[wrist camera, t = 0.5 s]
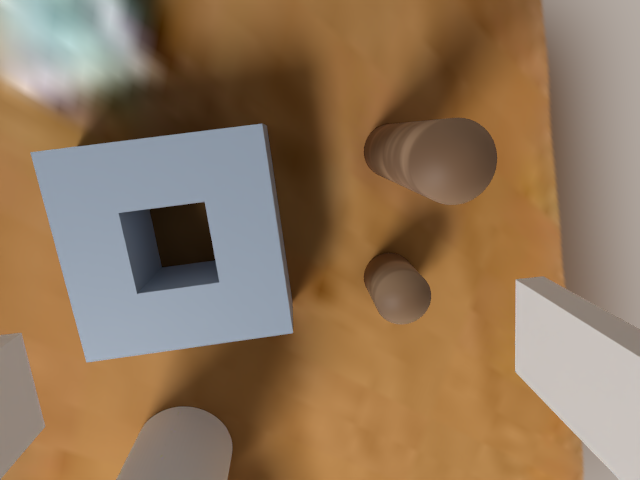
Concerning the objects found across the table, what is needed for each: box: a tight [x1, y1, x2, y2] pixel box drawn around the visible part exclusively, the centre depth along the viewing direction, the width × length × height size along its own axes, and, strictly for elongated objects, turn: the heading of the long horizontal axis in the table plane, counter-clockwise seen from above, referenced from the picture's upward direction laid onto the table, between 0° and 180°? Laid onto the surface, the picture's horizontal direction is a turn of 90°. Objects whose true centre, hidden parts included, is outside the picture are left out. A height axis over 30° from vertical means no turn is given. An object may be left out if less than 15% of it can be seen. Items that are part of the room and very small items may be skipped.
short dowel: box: [364, 253, 431, 324], centre depth 35 cm, size 4×4×5 cm
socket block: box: [30, 124, 293, 362], centre depth 32 cm, size 14×14×6 cm
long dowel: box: [364, 118, 497, 205], centre depth 28 cm, size 4×4×14 cm
